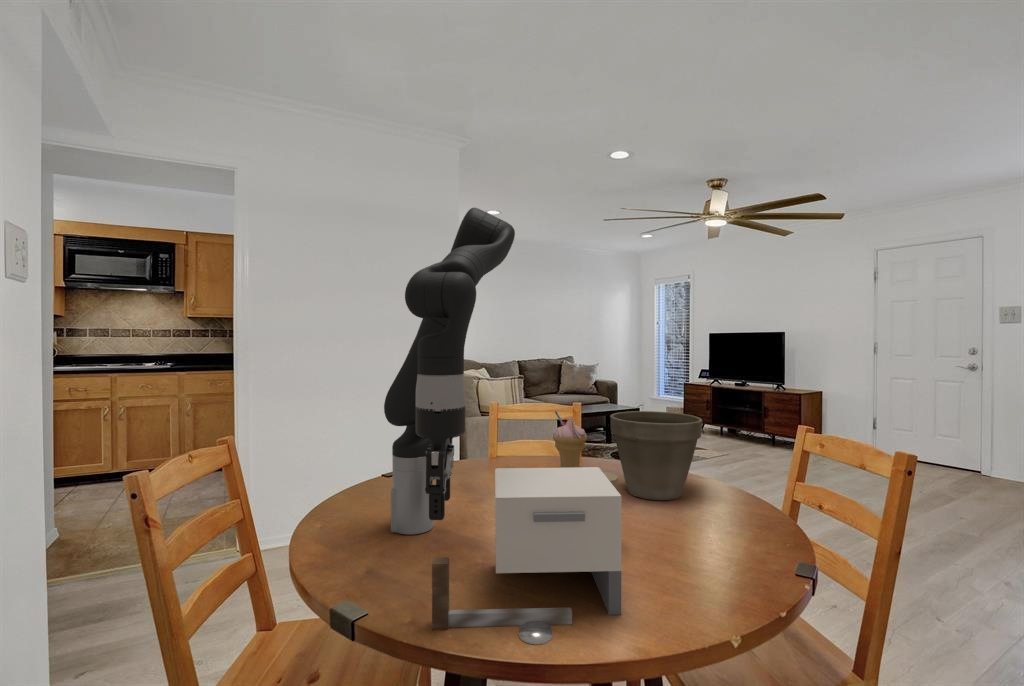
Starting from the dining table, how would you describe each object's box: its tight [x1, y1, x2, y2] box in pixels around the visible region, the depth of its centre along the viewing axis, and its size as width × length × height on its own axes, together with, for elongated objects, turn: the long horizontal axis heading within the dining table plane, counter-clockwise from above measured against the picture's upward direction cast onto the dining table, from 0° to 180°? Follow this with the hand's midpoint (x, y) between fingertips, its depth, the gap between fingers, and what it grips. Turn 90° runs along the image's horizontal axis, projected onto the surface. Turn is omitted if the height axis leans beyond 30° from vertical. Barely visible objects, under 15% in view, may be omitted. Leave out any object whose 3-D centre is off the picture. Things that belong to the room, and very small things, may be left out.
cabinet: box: [494, 466, 622, 616], centre depth 92 cm, size 20×19×19 cm
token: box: [518, 621, 553, 646], centre depth 78 cm, size 5×5×1 cm
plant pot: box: [609, 410, 703, 501], centre depth 147 cm, size 25×25×22 cm
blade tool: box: [431, 556, 573, 631], centre depth 81 cm, size 21×2×10 cm, turn 92°
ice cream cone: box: [552, 410, 588, 468], centre depth 167 cm, size 11×11×20 cm
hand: (440, 509), depth 80 cm, fingers open, 8 cm apart
